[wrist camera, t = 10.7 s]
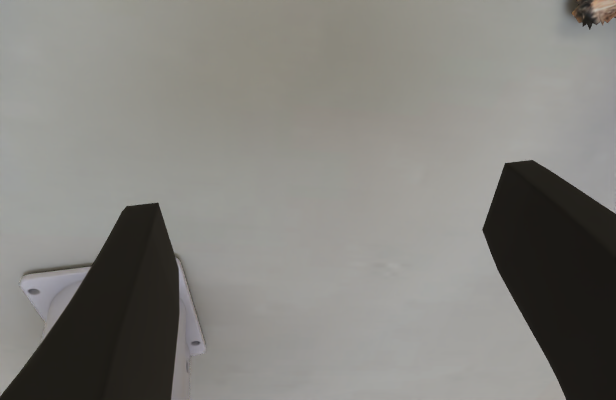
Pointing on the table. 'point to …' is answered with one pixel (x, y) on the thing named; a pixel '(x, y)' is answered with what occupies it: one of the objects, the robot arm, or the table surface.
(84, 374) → the robot arm
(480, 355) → the table surface
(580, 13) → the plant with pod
